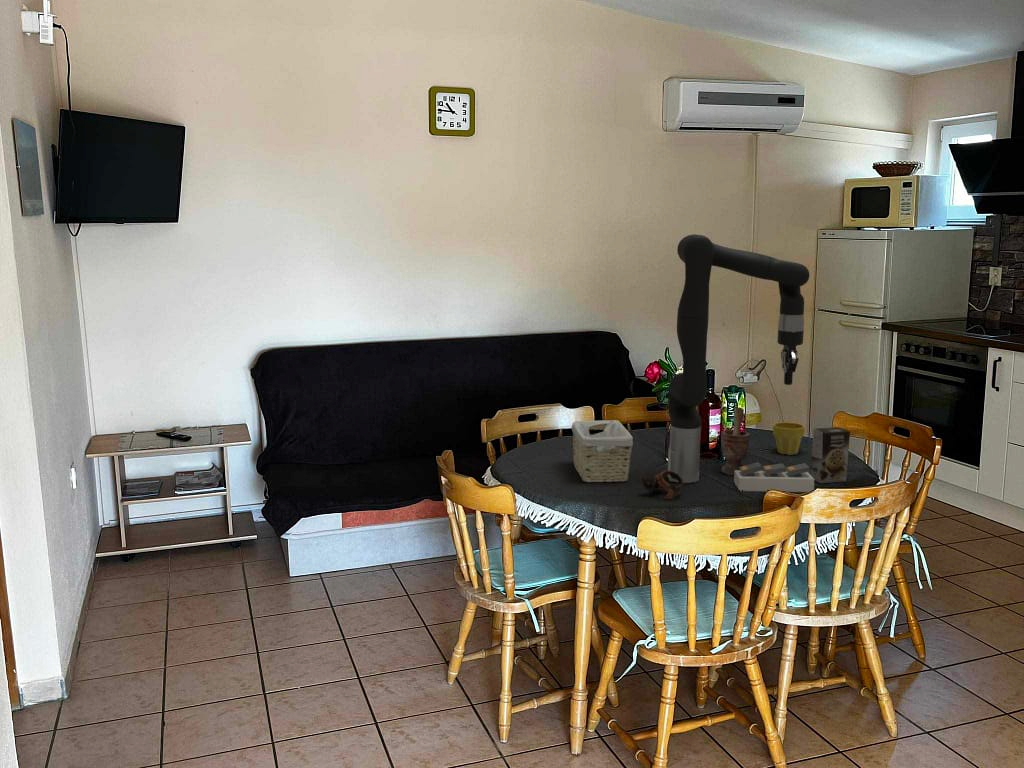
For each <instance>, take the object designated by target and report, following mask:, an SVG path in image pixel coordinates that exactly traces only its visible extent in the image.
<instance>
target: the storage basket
mask: <svg viewBox="0 0 1024 768" xmlns="http://www.w3.org/2000/svg"><path fill="white" fill-rule="evenodd" d="M571 425H572V426H571V431H572V440H573V442H572V452H573V455H572V456H573V465H574V467H575V470H576V472H578V474H579V476H580V478H581V480H582V481H583V482H587V483H604V482H606V483H611V482H615V483H616V482H617V483H618V482H627V481H628V479H629V473H630V463H631V454H632V449H633V446H634V441H633V439H634V437H633V436H632V434H631V433H630V432H629V431H628V430H627V428H626V427H625V426H624V425H623V424H622V423H621V422H620V421H619V420H618V419H617V420H616V419H613V420H609V419H608V420H607V419H606V420H605V419H604V420H574V421H573V422H572V424H571ZM591 430H595V431H596V430H600V431H601V432H598V433H595V434H591V433H590V431H591Z"/></svg>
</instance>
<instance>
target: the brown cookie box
mask: <svg viewBox="0 0 1024 768" xmlns="http://www.w3.org/2000/svg"><path fill="white" fill-rule="evenodd" d="M812 436H813V437H812V438H813V439H812V448H811V460H810V472H809V474H810V475H811V476H812V477H813V478H814V481H816V482H818V483H819V484H829V483H839V482H841V483H842V482H846V481H847V475H848V474H847V471H848V461H849V449H850V447H849V446H850V438H851V437H850V436H851V431H850V430H847V429H844V428H841V427H839V426H838V427H837V426H836V427H819V428H816V427H815V428H814V429H813V435H812Z"/></svg>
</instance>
